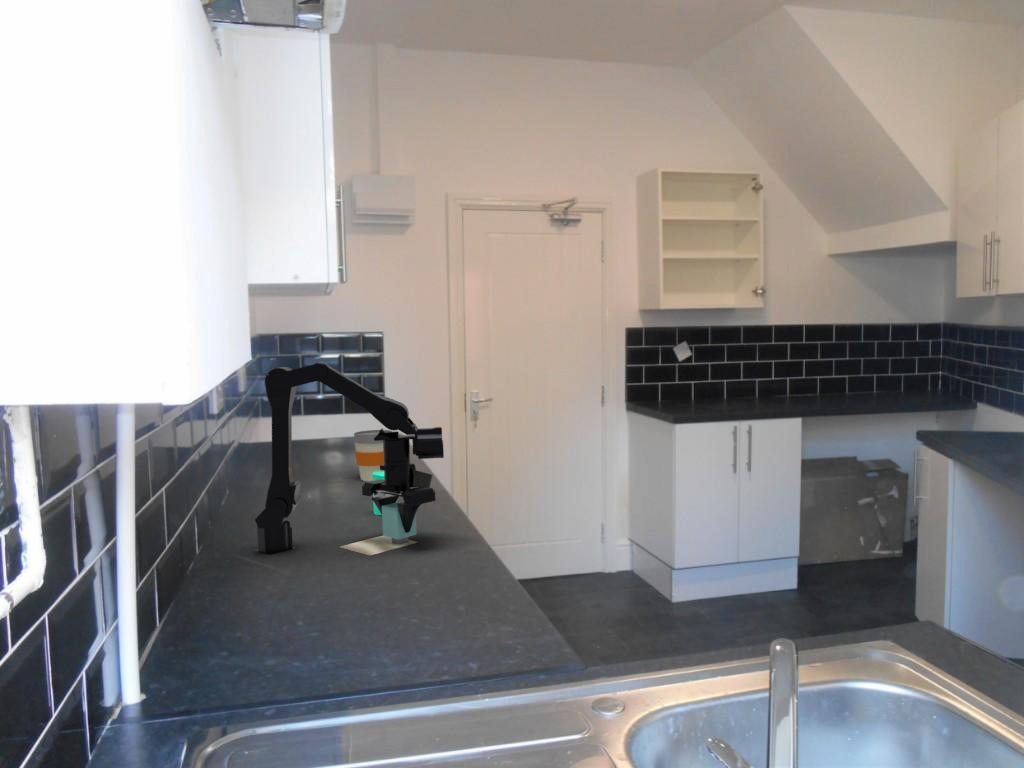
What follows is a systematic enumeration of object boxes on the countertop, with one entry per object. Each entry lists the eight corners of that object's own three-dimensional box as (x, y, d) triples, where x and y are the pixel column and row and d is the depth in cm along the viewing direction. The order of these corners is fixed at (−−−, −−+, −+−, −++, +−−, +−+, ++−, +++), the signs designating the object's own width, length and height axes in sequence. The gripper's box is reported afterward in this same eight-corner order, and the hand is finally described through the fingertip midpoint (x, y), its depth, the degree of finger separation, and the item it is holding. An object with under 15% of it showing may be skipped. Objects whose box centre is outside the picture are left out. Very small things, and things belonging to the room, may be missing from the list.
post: (399, 547, 176) (398, 515, 175) (391, 545, 177) (390, 513, 177) (408, 544, 177) (407, 513, 177) (401, 542, 179) (399, 511, 179)
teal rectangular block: (398, 539, 174) (396, 509, 173) (382, 535, 177) (381, 505, 177) (416, 534, 177) (415, 504, 177) (401, 530, 181) (400, 501, 180)
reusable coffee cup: (351, 477, 262) (349, 431, 261) (388, 473, 268) (386, 428, 267) (360, 484, 251) (358, 436, 250) (399, 479, 256) (397, 432, 255)
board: (370, 558, 168) (369, 555, 168) (338, 549, 175) (338, 546, 175) (417, 544, 177) (417, 542, 177) (386, 537, 185) (386, 534, 185)
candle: (368, 514, 208) (367, 468, 208) (383, 509, 214) (381, 464, 213) (387, 516, 206) (386, 469, 205) (401, 511, 211) (400, 465, 210)
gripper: (453, 458, 176) (455, 529, 177) (398, 451, 188) (400, 517, 189) (413, 466, 168) (416, 540, 169) (359, 458, 180) (362, 527, 181)
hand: (399, 530), depth 177 cm, fingers closed on teal rectangular block, 5 cm apart
